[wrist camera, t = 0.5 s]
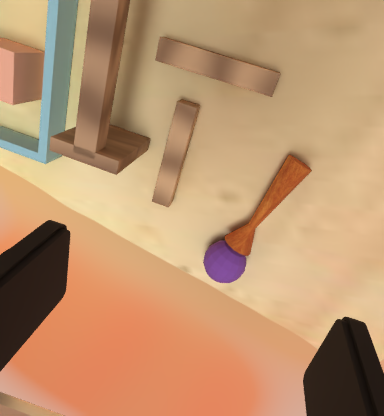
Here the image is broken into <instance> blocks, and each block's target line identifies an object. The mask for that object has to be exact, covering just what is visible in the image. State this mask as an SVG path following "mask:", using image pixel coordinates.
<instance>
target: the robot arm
mask: <svg viewBox="0 0 384 416" xmlns="http://www.w3.org/2000/svg"><path fill="white" fill-rule="evenodd" d="M69 244H70V231H69V230H67V228H66V226H65V225H64V224H61V223H58V222H55V221H52V220H48V221H46V222H45V223H43V224H42V225H41V226H39V227H38V228H37V229H35V230H34V231H33V232H31V233H30V234H29V235H27V236H26V237H25V238H23V239H22V240H21V241H19V242H18V243H17V244H15V245H14V246H13V247H11V248H10V249H8V250H6V251H5V252H3V253H2V254H1V255H0V371H1V370H2V369H3V368H4V367H5V365H6V364H7V363H8V362H9V361H10V360H11V358H12V357H13V356H14V355H15V354H16V352H17V351H18V350H19V349H20V348H21V346H22V345H23V344H24V343H25V342H26V341H27V339H28V338H29V337H30V336H31V335H32V333H33V332H34V331H35V330H36V329H37V328H38V326H39V325H40V324H41V323H42V322H43V320H44V319H45V318H46V317H47V316H48V315H49V313H50V312H51V311H52V310H53V309H54V308H55V306H56V305H57V304H58V303H59V301H60V300H61V299H62V298H63V296H64V294H65V291H66V283H67V271H68V258H69ZM303 385H304V394H305V402H306V413H307V416H384V373H383V370H382V367H381V365H380V362H379V359H378V356H377V354H376V351H375V348H374V345H373V343H372V340H371V337H370V334H369V332H368V329H367V326H366V324H365V323H364V322H361V321H358V320H355V319H352V318H349V317H344V318H343V319H342V320H341V319H337V320H336V321H335V323H334V325H333V326H332V328H331V330H330V331H329V333H328V335H327V336H326V338H325V339H324V341H323V343H322V344H321V346H320V348H319V349H318V351H317V353H316V354H315V356H314V358H313V359H312V361H311V363H310V364H309V366H308V368H307V369H306V371H305V374H304V379H303ZM0 416H64V415H61V414H59V413H56V412H53V411H51V410H48V409H45V408H43V407H40V406H37V405H35V404H32V403H29V402H26V401H24V400H21V399H18V398H16V397H13V396H10V395H7V394H4V393H1V392H0Z"/></svg>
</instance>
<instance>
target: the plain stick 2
mask: <svg viewBox="0 0 384 416" xmlns="http://www.w3.org/2000/svg"><path fill="white" fill-rule="evenodd" d="M155 60H156V61H159V62H162V63H166V64H169V65H172V66H175V67H178V68H181V69H185V70H188V71H191V72H194V73H197V74H201V75H204V76H207V77H210V78H213V79H216V80H220V81H223V82H226V83H229V84H232V85H235V86H239V87H242V88H245V89H248V90H251V91H255V92H258V93H261V94H264V95H267V96H270V97H272V95H273V93H274V90H275V87H276V84H277V82H278V79H279V76H280V73H279V72H276V71H272V70H269V69H266V68H263V67H259V66H256V65H253V64H250V63H246V62H243V61H240V60H237V59H233V58H230V57H227V56H224V55H220V54H217V53H214V52H211V51H207V50H204V49H201V48H198V47H195V46H191V45H188V44H185V43H182V42H178V41H175V40H172V39H169V38H165V37H160V39H159V44H158V49H157V54H156V59H155Z"/></svg>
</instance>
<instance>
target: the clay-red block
mask: <svg viewBox="0 0 384 416" xmlns="http://www.w3.org/2000/svg"><path fill="white" fill-rule="evenodd" d="M44 57H45V52H43V51H40V50H37V49H34V48H31V47H28V46H25V45H22V44H19V43H17V42H14V41H11V40H8V39H5V38H0V101H3V102H6V103H9V104H12V105H15V104H20V103H25V102H30V101H35V100H39V99H42V87H43V72H44Z"/></svg>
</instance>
